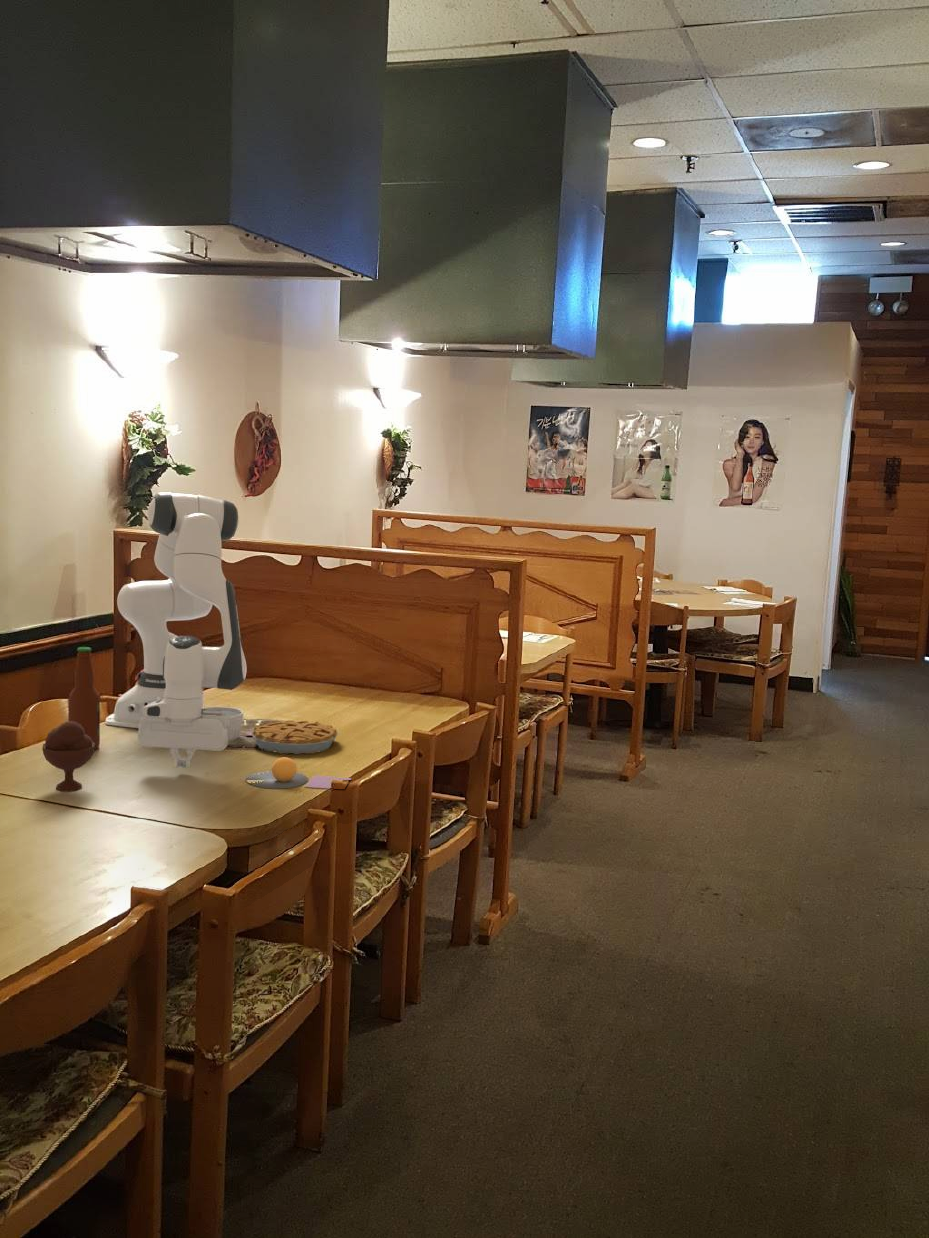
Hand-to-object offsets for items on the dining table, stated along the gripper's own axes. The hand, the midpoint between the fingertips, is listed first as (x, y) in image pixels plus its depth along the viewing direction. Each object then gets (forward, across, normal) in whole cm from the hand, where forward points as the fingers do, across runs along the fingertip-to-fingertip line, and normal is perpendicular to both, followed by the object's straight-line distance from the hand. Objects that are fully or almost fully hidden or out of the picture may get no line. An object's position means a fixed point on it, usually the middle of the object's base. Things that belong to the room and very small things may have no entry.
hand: (182, 766), depth 255 cm
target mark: (+2, -22, 0) cm, 22 cm away
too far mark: (+2, -34, 0) cm, 34 cm away
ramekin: (+2, +2, -34) cm, 34 cm away
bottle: (+2, +30, -16) cm, 34 cm away
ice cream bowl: (+2, +20, +16) cm, 26 cm away
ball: (-1, -24, +1) cm, 24 cm away
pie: (+2, -19, -32) cm, 37 cm away
